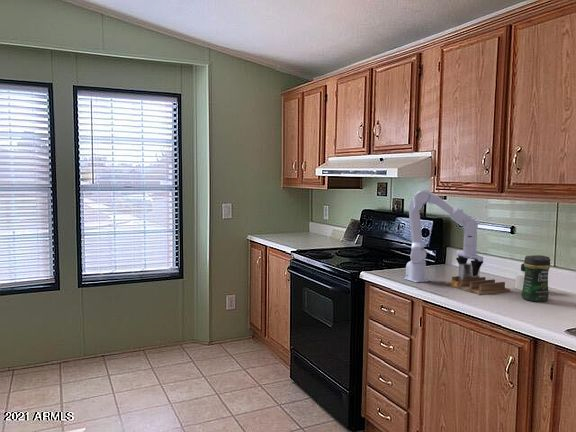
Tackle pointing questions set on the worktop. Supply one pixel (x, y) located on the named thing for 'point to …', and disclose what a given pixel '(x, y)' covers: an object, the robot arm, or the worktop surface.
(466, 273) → the grey brushed metal block
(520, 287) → the medicine bottle
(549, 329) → the worktop surface
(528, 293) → the coffee jar
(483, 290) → the slot rack
